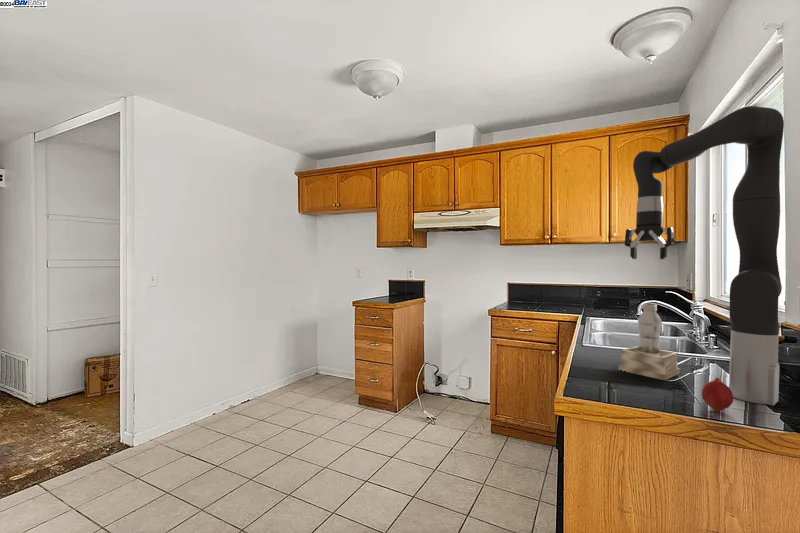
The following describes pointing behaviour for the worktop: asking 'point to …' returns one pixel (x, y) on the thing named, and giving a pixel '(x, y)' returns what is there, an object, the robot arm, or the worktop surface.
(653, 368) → the wooden tray
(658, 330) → the silver bottle
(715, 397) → the onion
